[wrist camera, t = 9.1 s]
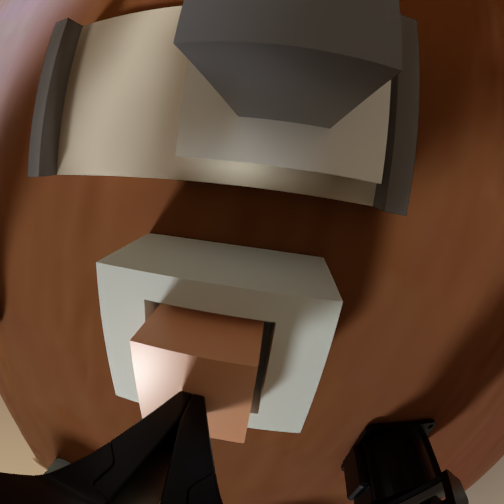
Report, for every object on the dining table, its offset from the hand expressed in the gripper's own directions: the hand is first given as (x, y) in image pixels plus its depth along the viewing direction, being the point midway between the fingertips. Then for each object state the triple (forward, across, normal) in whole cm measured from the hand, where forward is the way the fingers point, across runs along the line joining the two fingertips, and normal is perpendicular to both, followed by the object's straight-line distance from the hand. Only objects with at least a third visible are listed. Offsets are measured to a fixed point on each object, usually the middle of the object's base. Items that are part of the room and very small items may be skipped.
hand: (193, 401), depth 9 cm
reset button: (+4, 0, 0) cm, 4 cm away
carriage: (+5, -2, -11) cm, 12 cm away
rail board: (+7, +2, -11) cm, 13 cm away
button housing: (+7, 0, 0) cm, 7 cm away
